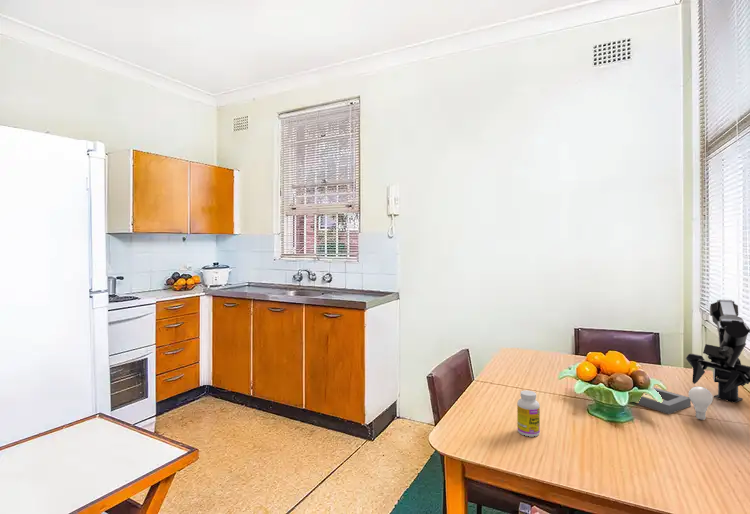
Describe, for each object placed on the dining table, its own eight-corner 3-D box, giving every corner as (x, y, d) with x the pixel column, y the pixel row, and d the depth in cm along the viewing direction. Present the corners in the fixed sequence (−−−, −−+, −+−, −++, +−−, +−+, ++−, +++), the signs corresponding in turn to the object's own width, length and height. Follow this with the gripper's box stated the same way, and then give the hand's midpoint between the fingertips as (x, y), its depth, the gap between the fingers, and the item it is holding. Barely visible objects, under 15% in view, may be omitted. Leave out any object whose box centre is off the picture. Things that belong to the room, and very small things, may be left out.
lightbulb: (717, 424, 134) (717, 390, 133) (695, 423, 135) (695, 389, 135) (705, 416, 140) (705, 384, 139) (684, 415, 141) (684, 383, 141)
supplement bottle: (529, 439, 126) (528, 398, 126) (512, 431, 132) (512, 391, 132) (544, 434, 129) (544, 394, 129) (527, 426, 135) (527, 387, 135)
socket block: (652, 394, 160) (652, 386, 160) (690, 406, 149) (690, 396, 148) (630, 401, 154) (630, 393, 153) (669, 414, 142) (669, 404, 142)
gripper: (689, 330, 148) (668, 365, 145) (751, 341, 131) (729, 380, 127) (703, 350, 151) (683, 384, 148) (766, 363, 134) (745, 402, 130)
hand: (708, 387), depth 138 cm, fingers open, 9 cm apart
